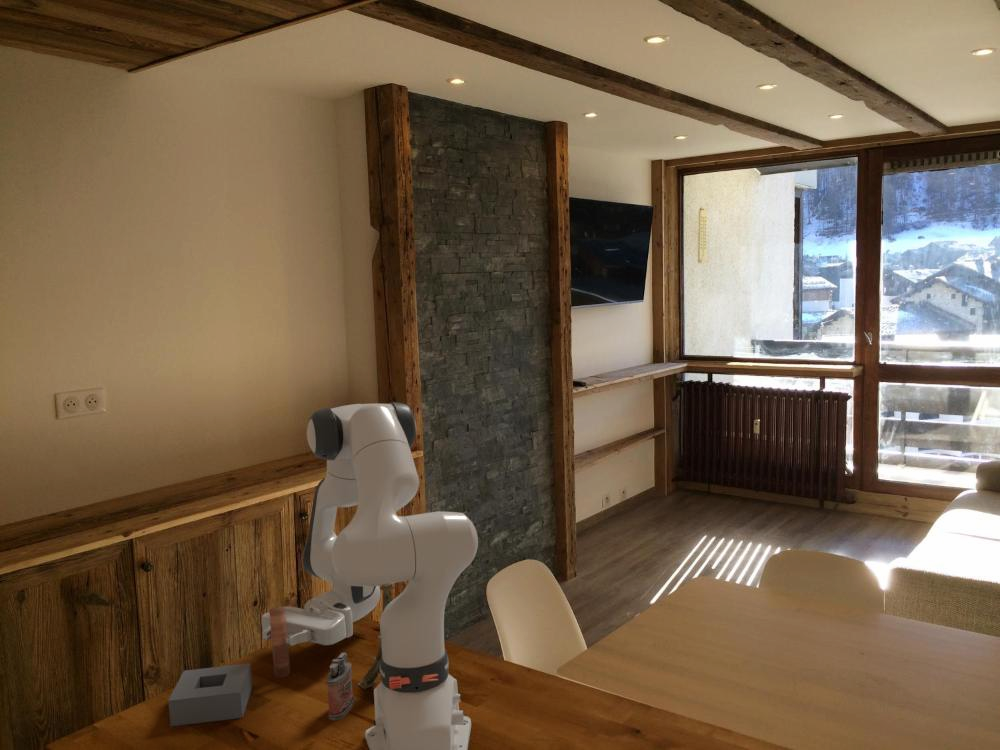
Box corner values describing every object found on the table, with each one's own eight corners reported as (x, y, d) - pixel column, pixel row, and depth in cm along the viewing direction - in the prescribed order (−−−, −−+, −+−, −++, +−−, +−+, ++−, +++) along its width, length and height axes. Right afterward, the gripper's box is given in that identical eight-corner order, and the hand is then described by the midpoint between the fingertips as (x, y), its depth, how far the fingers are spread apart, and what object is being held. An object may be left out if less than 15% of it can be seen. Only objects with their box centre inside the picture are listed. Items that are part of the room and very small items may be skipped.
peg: (289, 676, 176) (284, 611, 174) (273, 678, 175) (268, 613, 174) (290, 670, 179) (285, 606, 178) (275, 671, 178) (270, 607, 177)
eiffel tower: (402, 668, 177) (394, 552, 175) (430, 684, 169) (422, 563, 166) (357, 685, 170) (348, 564, 168) (384, 702, 162) (375, 576, 160)
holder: (242, 717, 159) (240, 692, 159) (170, 726, 157) (168, 700, 157) (252, 686, 172) (250, 663, 171) (186, 694, 170) (183, 670, 170)
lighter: (341, 720, 156) (338, 668, 155) (324, 719, 157) (320, 667, 156) (357, 699, 164) (354, 650, 163) (341, 699, 164) (337, 649, 164)
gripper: (288, 595, 192) (240, 616, 181) (356, 608, 182) (310, 631, 170) (290, 622, 193) (243, 645, 181) (358, 636, 182) (313, 662, 171)
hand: (276, 638), depth 176 cm, fingers open, 5 cm apart
